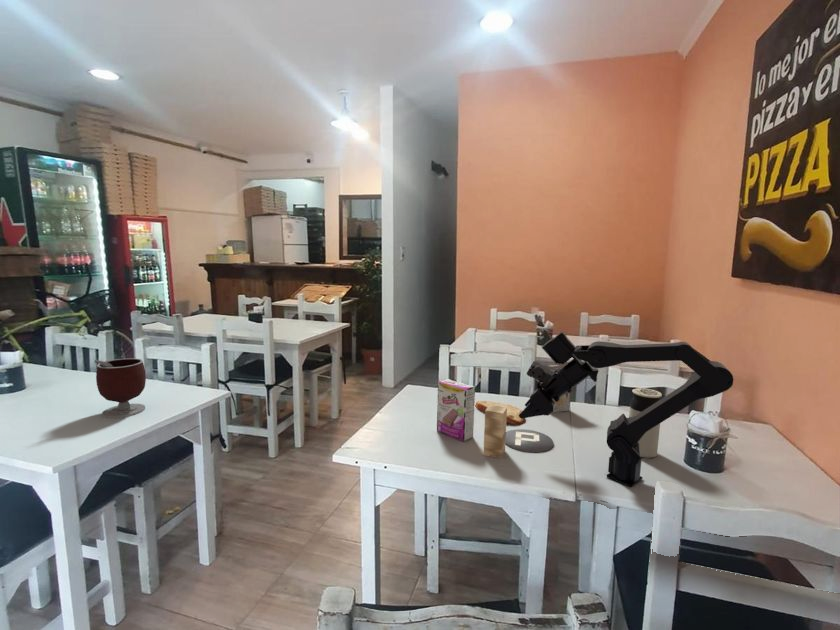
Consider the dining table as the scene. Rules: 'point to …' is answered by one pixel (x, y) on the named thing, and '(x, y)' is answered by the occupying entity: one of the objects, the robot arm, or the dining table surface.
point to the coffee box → (565, 399)
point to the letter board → (528, 440)
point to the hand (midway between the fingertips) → (523, 411)
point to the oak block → (495, 431)
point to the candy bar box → (455, 409)
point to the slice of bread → (511, 411)
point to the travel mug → (638, 404)
